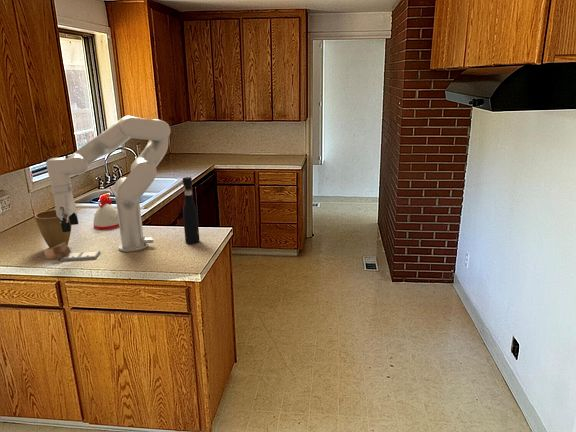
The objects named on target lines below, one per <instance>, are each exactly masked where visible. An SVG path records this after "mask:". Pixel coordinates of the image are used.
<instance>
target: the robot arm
mask: <svg viewBox="0 0 576 432" xmlns="http://www.w3.org/2000/svg"><path fill="white" fill-rule="evenodd" d="M171 131H172V130H171V127H170V125H169V124H168V122H166V121H164V120H161V119H159V118H154V119H151V118H141V117H136V116H133V115H125V116H123V117H122V118H120V119H119V120H117V121H116V122H114V123H113V124H111V126H109V127H107V129H105V130H104V131H103V132H101V133H100V134H99V135H97V136H96V137H94V138H93V139H92V140H90V141H88V142H87V143H86V144H84V145H83V146H82V147H80V148H79V149H77V150H76V151H75V152H73V154H71V155H70V156H69V157H68V158H64V157H52V158H49V159H47V160H46V162H45V165H46V169H47V174H48V178H49V182H50V188H51V191H52V195H53V203H54V210H56V214H57V217H58V218H59V220H60V223H61V227H62V231H63V232H70V231H71V232H72V226H75V225H79V219H78V215H77V214H78V213H77V211H76V210H77V207H76V204H75V202H76V201H75V199H74V194H73V191H74V189H73V185H72V180H71V176H72V175H73V176H76V175H77V176H78V175H83V174H85V173H87V171H88V170H89V166H90V165H91V164H92V163H93V162H95V161H97V159H99V158H101V157H103V156H105V155H108V154H111V153H113V152H114V151H116V150H117V149H119V148H120V147H121V146H122V145H124V144H125V143H127V142H128V141H129V140H130V139H138V140H146V141H148V142H147V144H146V145H145V147H144V148H143V150H142V151H141V152H140V154H139V155H138V156H137V158H136V159H134V161H133V162H132V163H131V166H130V172H129V174H128V175H127V176H125V177H120V178H119V179H117V180H116V181H115V183H114V186H113V193H114V198H115V205H116V210H117V212H118V220H119V227H118V228H119V233H120V241H121V243H120V244H119V245H118V250H119V251H120V252H126V253H127V252H128V253H131V252H138V251H141V250H145V249H146V248H148V245H149V244H154V243H155V239H154V238H152V237H146V235H145V234H144V231H143V230H144V229H143V221H142V220H143V219H142V213H141V206H140V205H141V204H140V199H141V197H143V195H144V194H145V193H146V191H147V190H148V189H149V188H150V186H151V185H152V184H153V182H154V181H155V179H156V177H157V174H158V173H157V167H158V165H160V163H161V161H162V160H163V158H164V157H165V155H166V153H167V152H168V148H169V137H170V135H171ZM65 217H66V219H65ZM68 217H69V220H70V223H69V222H68ZM70 225H72V226H71V227H70Z"/></svg>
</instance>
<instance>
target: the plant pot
mask: <svg viewBox="0 0 576 432" xmlns="http://www.w3.org/2000/svg"><path fill="white" fill-rule="evenodd" d="M34 217H35V221H36V224H37V226H38V230H39V232H40V234H41V236H42V238H43V239H44V241H45V244H46V245H47V247H48V248H52V247H55V246H56V245H58V244H61V243H64V242H66V244H67V246H68V245H69V242H70V238H71V234H72V233H71V232H72V230H71V231H70V232H63V231H62V227H61V223H60V220H59V218H58V217H57V214H56V209H50V210H45V211H41V212H37V213H36V214H34ZM65 219H66V217H65ZM68 222H69V223H70V220H69V217H68ZM72 226H73V225H70V227H71V228H72ZM68 247H69V246H68Z"/></svg>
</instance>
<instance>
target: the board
mask: <svg viewBox="0 0 576 432" xmlns="http://www.w3.org/2000/svg"><path fill="white" fill-rule="evenodd" d="M99 255H101V251H100V250H95V251H94V250H93V251H81V252H80V251H79V252H71V253H70V254H68V255H67V256H65V257H62V258H60V262H69V261H85V260H86V261H87V260H97V258H98V257H99Z"/></svg>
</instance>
